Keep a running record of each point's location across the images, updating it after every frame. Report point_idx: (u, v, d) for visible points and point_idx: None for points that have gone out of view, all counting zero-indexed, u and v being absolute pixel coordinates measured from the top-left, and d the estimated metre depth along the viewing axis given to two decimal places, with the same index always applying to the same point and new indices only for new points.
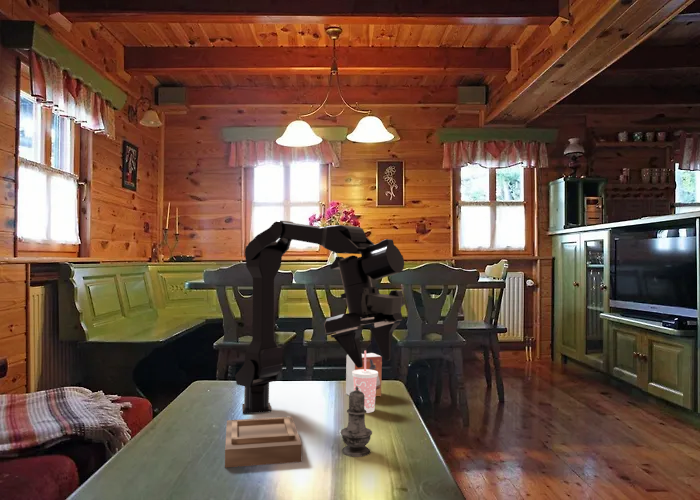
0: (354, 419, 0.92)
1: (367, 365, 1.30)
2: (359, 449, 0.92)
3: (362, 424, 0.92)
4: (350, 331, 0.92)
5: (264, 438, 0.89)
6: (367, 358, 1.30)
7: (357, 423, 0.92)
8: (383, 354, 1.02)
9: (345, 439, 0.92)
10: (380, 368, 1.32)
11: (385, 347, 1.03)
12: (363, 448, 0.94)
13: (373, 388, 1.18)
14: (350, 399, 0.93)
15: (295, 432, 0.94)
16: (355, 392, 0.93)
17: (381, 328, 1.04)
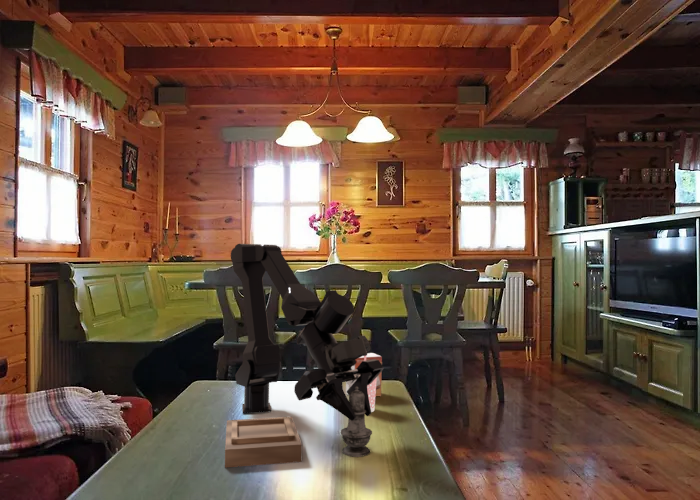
0: (354, 419, 0.92)
1: None
2: (359, 449, 0.92)
3: (362, 424, 0.92)
4: (328, 383, 0.91)
5: (264, 438, 0.89)
6: (367, 358, 1.30)
7: (357, 423, 0.92)
8: None
9: (345, 439, 0.92)
10: None
11: None
12: (363, 448, 0.94)
13: (373, 388, 1.18)
14: (350, 399, 0.93)
15: (295, 432, 0.94)
16: (355, 392, 0.93)
17: (354, 385, 0.98)
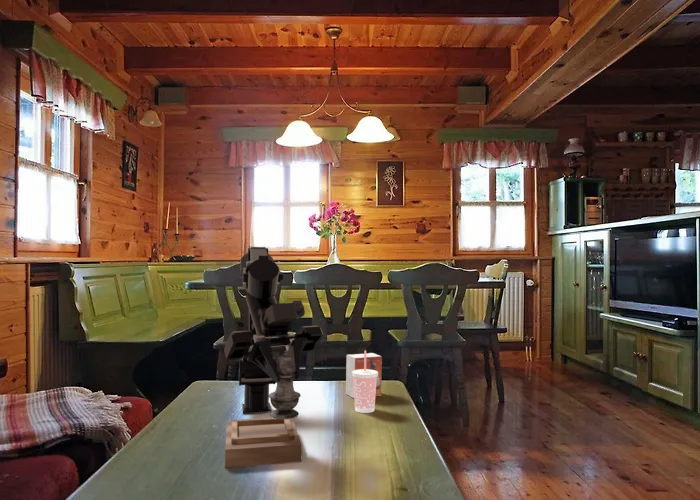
0: (281, 382, 0.92)
1: (367, 365, 1.30)
2: (286, 412, 0.93)
3: (288, 387, 0.92)
4: (254, 345, 0.92)
5: (264, 438, 0.89)
6: (367, 358, 1.30)
7: (283, 386, 0.92)
8: None
9: (271, 401, 0.92)
10: (380, 368, 1.32)
11: (294, 366, 0.95)
12: (291, 412, 0.94)
13: (373, 388, 1.18)
14: (278, 362, 0.93)
15: (295, 432, 0.94)
16: (283, 355, 0.93)
17: (289, 350, 0.98)
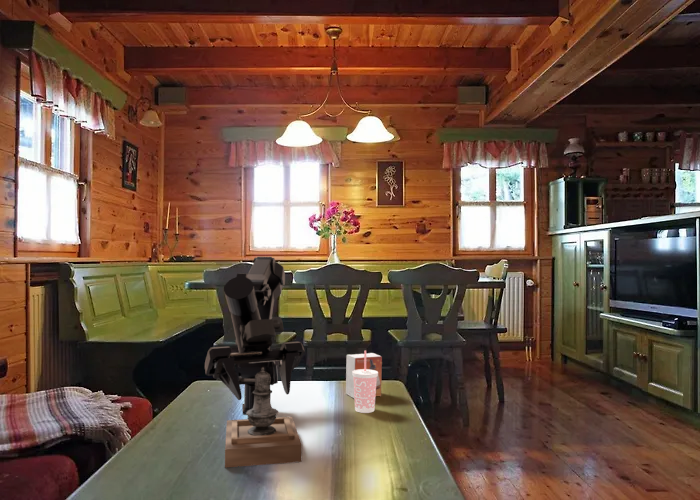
0: (257, 399, 0.94)
1: (367, 365, 1.30)
2: (262, 429, 0.94)
3: (265, 404, 0.94)
4: (217, 362, 0.93)
5: (264, 438, 0.89)
6: (367, 358, 1.30)
7: (259, 403, 0.93)
8: (284, 389, 0.97)
9: (248, 418, 0.94)
10: (380, 368, 1.32)
11: (285, 381, 0.97)
12: (268, 429, 0.95)
13: (373, 388, 1.18)
14: (255, 379, 0.95)
15: (295, 432, 0.94)
16: (260, 373, 0.94)
17: (282, 364, 1.00)
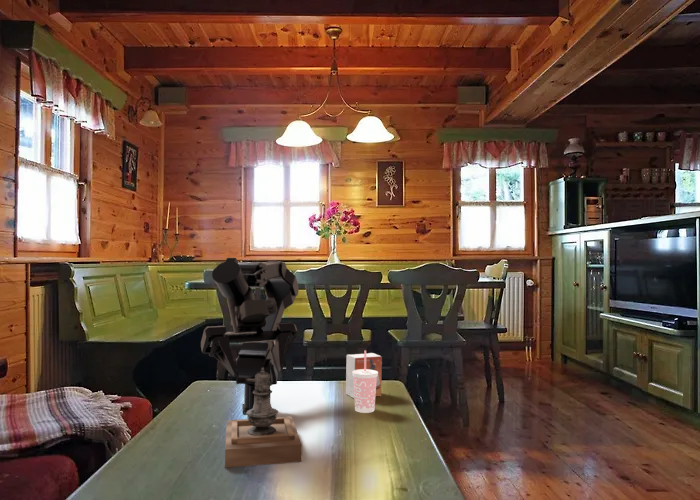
0: (257, 399, 0.94)
1: (367, 365, 1.30)
2: (262, 429, 0.94)
3: (265, 404, 0.94)
4: (213, 340, 0.96)
5: (264, 438, 0.89)
6: (367, 358, 1.30)
7: (259, 403, 0.93)
8: (278, 367, 1.00)
9: (248, 418, 0.94)
10: (380, 368, 1.32)
11: (278, 359, 1.01)
12: (268, 429, 0.95)
13: (373, 388, 1.18)
14: (255, 379, 0.95)
15: (295, 432, 0.94)
16: (260, 373, 0.94)
17: (275, 344, 1.04)
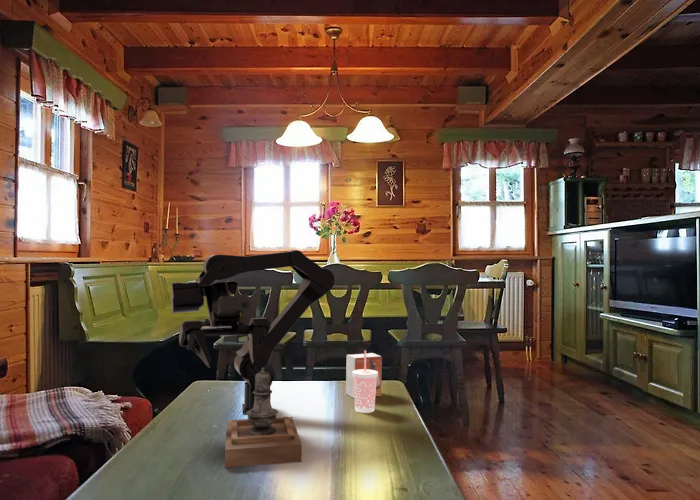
0: (257, 399, 0.94)
1: (367, 365, 1.30)
2: (262, 429, 0.94)
3: (265, 404, 0.94)
4: (189, 333, 1.03)
5: (264, 438, 0.89)
6: (367, 358, 1.30)
7: (259, 403, 0.93)
8: (251, 359, 1.07)
9: (248, 418, 0.94)
10: (380, 368, 1.32)
11: (252, 352, 1.08)
12: (268, 429, 0.95)
13: (373, 388, 1.18)
14: (255, 379, 0.95)
15: (295, 432, 0.94)
16: (260, 373, 0.94)
17: (250, 338, 1.11)
